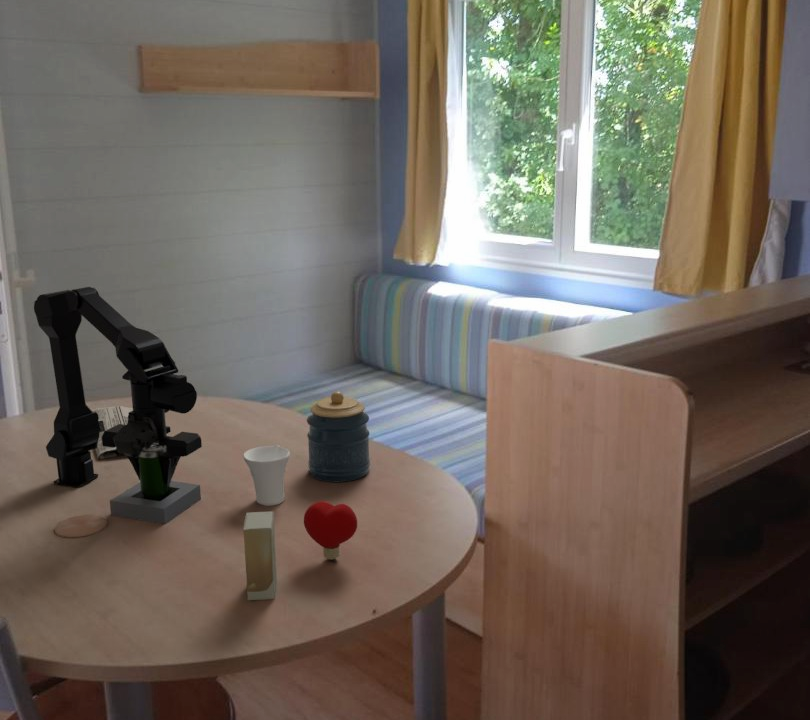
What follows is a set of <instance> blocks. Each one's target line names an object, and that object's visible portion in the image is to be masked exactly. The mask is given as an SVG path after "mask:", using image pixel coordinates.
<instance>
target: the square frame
mask: <svg viewBox="0 0 810 720" xmlns="http://www.w3.org/2000/svg"><path fill="white" fill-rule="evenodd" d="M170 492H171V495H169V496H168V497H166V498H165V499H163V500H162V501H154V500H148V499H142V495H141V485H140V482H139V483H137V484H135V485H133V486H131V487H130V488H128V489H127V490H125V491H123V492H121V493H120V494H118V495H116V496H114V497H113V498H112V499H110V500H109V505H110V515H111V516H114V517H121V518H125V519H132V520H139V521H145V522H151V523H158V524H164V525H166V524H167V523H169V522H170V521H172V520H174V519H175V518H176V517H178V516H179V515H181V514H182V513H183V512H184V511H187V509H189V508H190V507H192V506H194V504H196V503H197V502H198V501H200V500H202V494H201V484H196V483H190V482H189V483H188V482H182V481H175V480H171V482H170Z"/></svg>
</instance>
